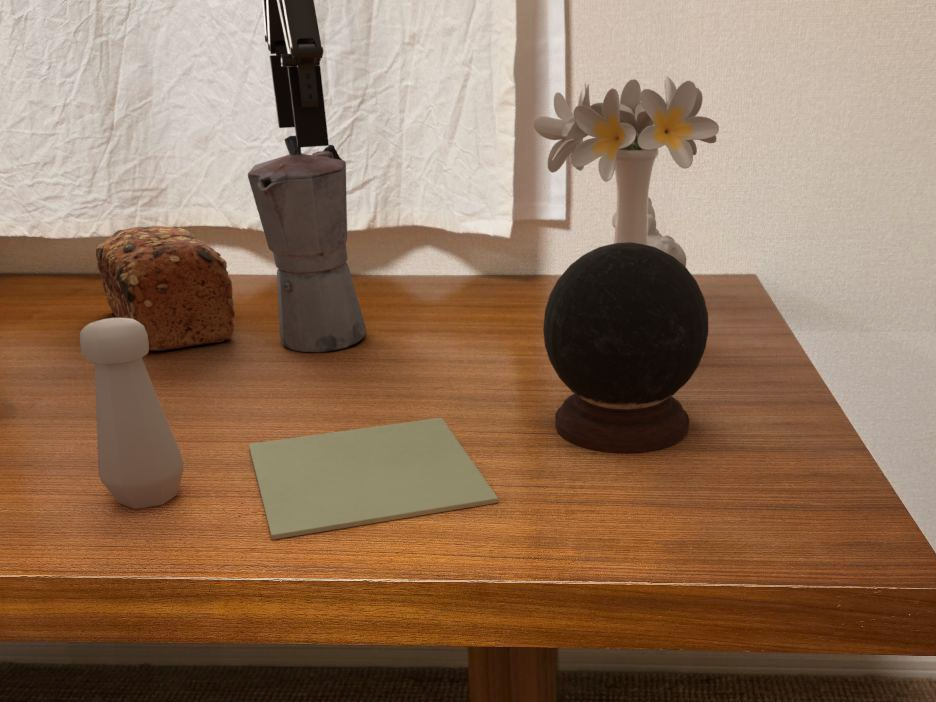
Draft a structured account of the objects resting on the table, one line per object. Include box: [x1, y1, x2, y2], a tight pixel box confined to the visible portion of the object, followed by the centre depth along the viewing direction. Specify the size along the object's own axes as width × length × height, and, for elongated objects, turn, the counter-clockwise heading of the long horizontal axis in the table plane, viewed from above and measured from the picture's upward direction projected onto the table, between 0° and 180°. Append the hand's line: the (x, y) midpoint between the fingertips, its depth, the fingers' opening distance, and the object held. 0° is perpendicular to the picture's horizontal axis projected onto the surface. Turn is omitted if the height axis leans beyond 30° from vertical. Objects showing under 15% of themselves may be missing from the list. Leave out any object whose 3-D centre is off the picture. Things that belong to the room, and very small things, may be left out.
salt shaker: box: [79, 317, 184, 510], centre depth 71 cm, size 6×6×13 cm
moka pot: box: [247, 135, 367, 353], centre depth 100 cm, size 10×15×20 cm, turn 166°
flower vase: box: [533, 76, 720, 245], centre depth 97 cm, size 13×18×25 cm
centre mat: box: [248, 417, 499, 541], centre depth 77 cm, size 16×16×1 cm
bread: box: [95, 225, 236, 351], centre depth 107 cm, size 19×11×10 cm, turn 30°
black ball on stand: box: [542, 242, 709, 454], centre depth 81 cm, size 13×13×15 cm
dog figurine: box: [611, 196, 687, 268], centre depth 116 cm, size 5×13×11 cm, turn 24°
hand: (302, 136), depth 96 cm, fingers open, 13 cm apart
